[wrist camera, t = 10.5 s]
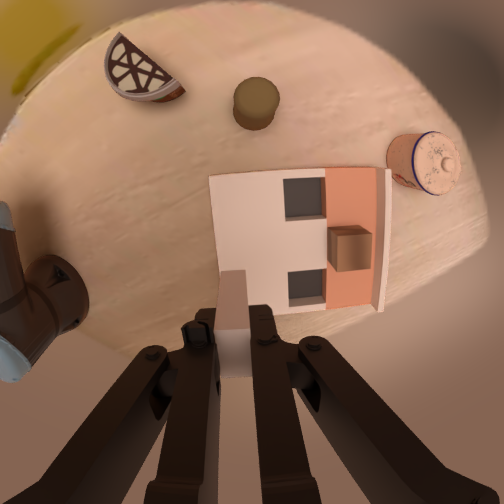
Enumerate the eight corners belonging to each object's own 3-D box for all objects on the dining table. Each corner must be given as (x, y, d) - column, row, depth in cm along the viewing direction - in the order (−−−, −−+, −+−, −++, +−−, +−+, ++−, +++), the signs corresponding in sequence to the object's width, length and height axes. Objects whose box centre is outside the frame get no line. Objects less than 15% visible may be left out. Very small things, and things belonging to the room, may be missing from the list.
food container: (113, 80, 36) (83, 65, 26) (141, 52, 35) (117, 29, 25) (162, 126, 39) (140, 118, 29) (192, 97, 38) (177, 80, 28)
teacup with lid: (382, 184, 42) (421, 194, 31) (385, 128, 39) (426, 123, 28) (438, 192, 43) (481, 205, 32) (442, 142, 40) (486, 144, 29)
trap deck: (226, 309, 48) (224, 329, 43) (210, 175, 41) (205, 177, 36) (369, 294, 48) (383, 311, 43) (373, 166, 41) (391, 169, 36)
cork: (279, 125, 39) (291, 114, 29) (238, 135, 40) (237, 127, 29) (269, 87, 37) (277, 65, 27) (228, 97, 38) (223, 77, 27)
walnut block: (327, 259, 43) (336, 272, 38) (327, 227, 41) (337, 236, 36) (358, 256, 43) (370, 268, 38) (359, 224, 41) (372, 233, 36)
